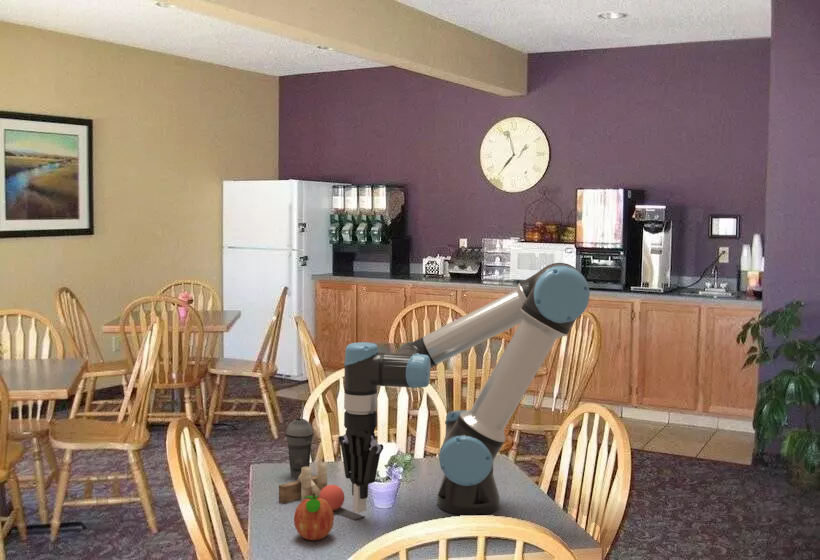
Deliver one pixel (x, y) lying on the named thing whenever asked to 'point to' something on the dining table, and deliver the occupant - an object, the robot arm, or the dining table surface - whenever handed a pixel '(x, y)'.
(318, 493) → the pin front
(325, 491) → the ball
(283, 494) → the back rail
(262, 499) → the dining table surface
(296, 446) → the beverage cup
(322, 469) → the pin
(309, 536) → the fruit
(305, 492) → the pin
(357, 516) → the dark grey flat bar
